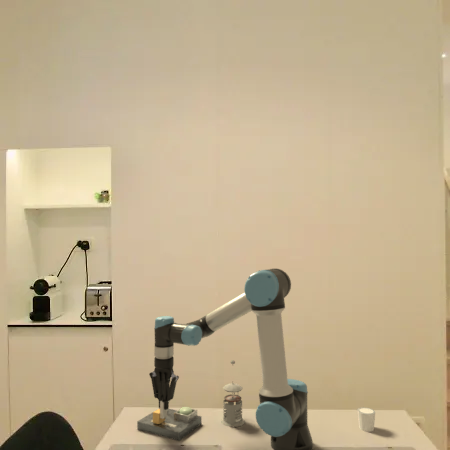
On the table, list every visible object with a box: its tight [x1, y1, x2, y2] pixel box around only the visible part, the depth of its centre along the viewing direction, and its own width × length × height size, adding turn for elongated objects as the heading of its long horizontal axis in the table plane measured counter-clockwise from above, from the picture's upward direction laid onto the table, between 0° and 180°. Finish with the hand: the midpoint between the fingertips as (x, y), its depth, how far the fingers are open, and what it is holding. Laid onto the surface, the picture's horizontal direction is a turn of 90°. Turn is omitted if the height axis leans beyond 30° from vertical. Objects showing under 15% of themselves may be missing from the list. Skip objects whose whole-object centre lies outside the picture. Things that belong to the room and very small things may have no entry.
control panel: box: [136, 406, 202, 442], centre depth 162 cm, size 20×16×6 cm
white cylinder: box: [356, 406, 376, 433], centre depth 160 cm, size 7×7×7 cm
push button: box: [179, 406, 193, 415], centre depth 163 cm, size 5×5×3 cm
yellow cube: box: [153, 408, 165, 424], centre depth 159 cm, size 3×4×4 cm
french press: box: [220, 360, 245, 428], centre depth 168 cm, size 10×12×25 cm
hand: (163, 417), depth 158 cm, fingers closed
